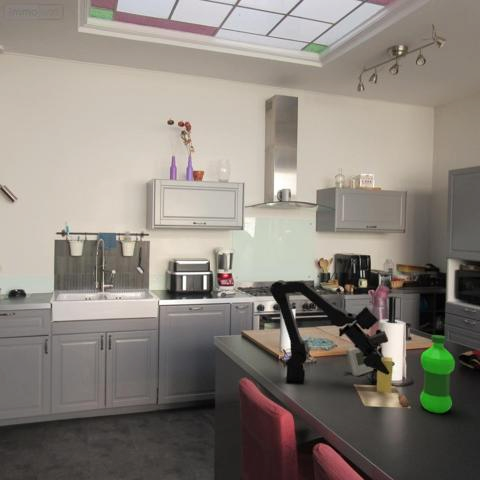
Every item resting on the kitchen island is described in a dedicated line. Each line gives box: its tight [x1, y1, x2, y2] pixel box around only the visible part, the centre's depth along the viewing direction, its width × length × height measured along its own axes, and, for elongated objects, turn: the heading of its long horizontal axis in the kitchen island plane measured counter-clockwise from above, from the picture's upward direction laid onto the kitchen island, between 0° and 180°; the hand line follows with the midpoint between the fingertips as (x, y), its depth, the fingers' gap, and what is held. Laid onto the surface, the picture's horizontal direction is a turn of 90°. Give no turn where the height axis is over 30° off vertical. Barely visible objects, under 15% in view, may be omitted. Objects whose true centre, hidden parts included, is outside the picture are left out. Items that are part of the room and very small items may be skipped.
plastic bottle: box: [419, 334, 456, 414], centre depth 163 cm, size 10×10×25 cm
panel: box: [353, 384, 411, 409], centre depth 175 cm, size 15×21×1 cm
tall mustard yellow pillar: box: [376, 356, 394, 393], centre depth 180 cm, size 5×5×12 cm
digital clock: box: [346, 346, 374, 377], centre depth 203 cm, size 16×9×11 cm, turn 121°
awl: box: [397, 391, 410, 407], centre depth 169 cm, size 2×10×2 cm, turn 177°
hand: (388, 370), depth 180 cm, fingers open, 7 cm apart
